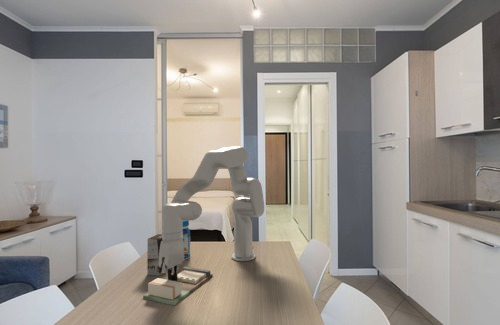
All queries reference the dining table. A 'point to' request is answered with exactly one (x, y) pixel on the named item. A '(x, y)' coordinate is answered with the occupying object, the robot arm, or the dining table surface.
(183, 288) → the board
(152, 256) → the coffee box
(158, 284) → the stub
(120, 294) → the dining table surface
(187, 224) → the beverage bottle
